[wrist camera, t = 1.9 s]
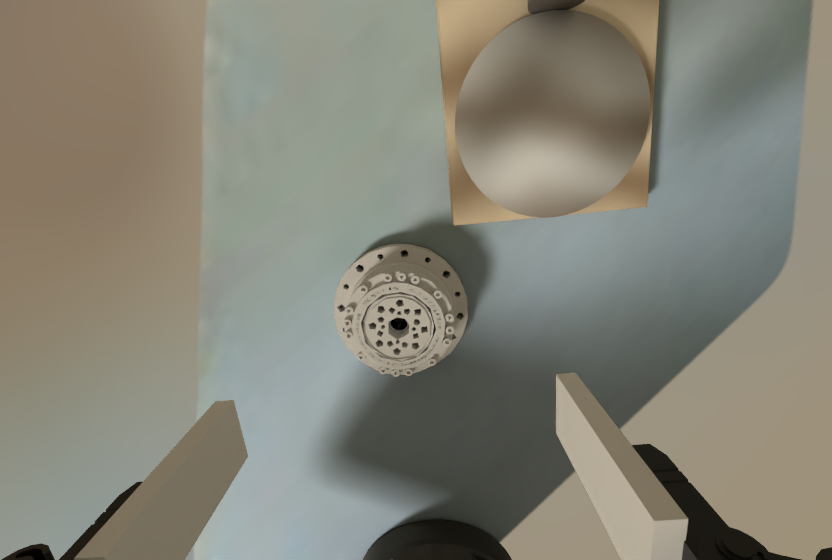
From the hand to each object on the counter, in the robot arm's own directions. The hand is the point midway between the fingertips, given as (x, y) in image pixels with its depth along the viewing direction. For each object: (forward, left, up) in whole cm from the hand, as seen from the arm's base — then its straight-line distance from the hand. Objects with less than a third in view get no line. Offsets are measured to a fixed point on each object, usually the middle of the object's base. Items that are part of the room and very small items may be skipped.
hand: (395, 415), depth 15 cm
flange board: (+14, -10, -14) cm, 23 cm away
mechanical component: (0, +1, -15) cm, 15 cm away
